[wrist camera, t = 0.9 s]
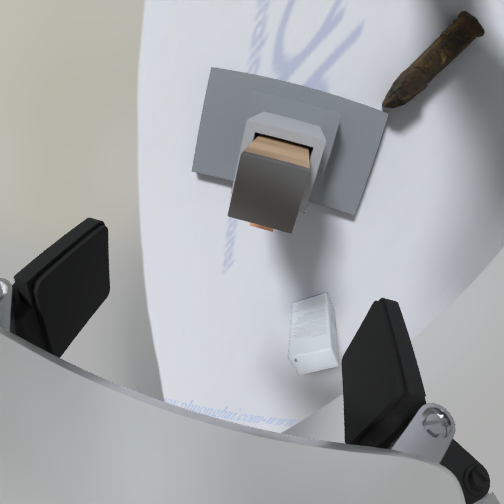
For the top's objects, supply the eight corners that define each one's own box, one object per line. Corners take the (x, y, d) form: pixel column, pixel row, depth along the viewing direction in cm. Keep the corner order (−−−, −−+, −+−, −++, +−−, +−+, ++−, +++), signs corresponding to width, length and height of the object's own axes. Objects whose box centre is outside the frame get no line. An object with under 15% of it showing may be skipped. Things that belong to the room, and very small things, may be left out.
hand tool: (457, 12, 25) (472, 6, 21) (475, 36, 26) (492, 32, 22) (366, 89, 33) (374, 89, 29) (387, 112, 34) (397, 115, 30)
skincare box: (301, 320, 52) (297, 376, 41) (291, 301, 50) (286, 357, 40) (336, 311, 50) (339, 367, 39) (328, 291, 48) (331, 346, 38)
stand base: (214, 67, 35) (161, 58, 21) (385, 113, 34) (433, 129, 20) (195, 168, 42) (141, 212, 28) (352, 211, 41) (374, 276, 27)
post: (270, 123, 32) (240, 152, 17) (307, 133, 32) (310, 171, 17) (262, 158, 34) (227, 216, 19) (298, 167, 34) (291, 233, 19)
